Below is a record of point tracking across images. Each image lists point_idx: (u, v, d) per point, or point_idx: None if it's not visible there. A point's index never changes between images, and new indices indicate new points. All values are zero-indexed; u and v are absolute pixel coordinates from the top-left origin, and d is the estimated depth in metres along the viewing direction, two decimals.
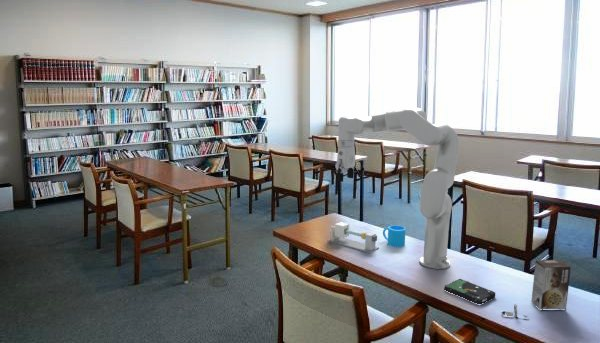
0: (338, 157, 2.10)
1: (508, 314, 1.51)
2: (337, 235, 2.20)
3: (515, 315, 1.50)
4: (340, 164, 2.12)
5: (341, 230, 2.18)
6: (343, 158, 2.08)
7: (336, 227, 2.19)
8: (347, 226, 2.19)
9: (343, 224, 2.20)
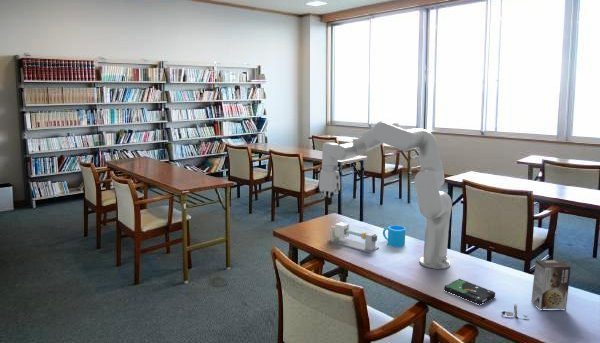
0: (335, 182, 2.18)
1: (508, 314, 1.51)
2: (337, 235, 2.20)
3: (515, 315, 1.50)
4: None
5: (341, 230, 2.18)
6: (339, 181, 2.20)
7: (336, 227, 2.19)
8: (347, 226, 2.19)
9: (343, 224, 2.20)
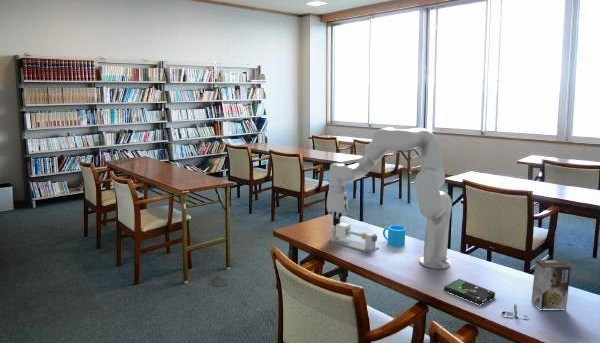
0: (343, 203, 2.16)
1: (508, 314, 1.51)
2: (338, 235, 2.19)
3: (515, 315, 1.50)
4: None
5: (342, 230, 2.17)
6: (347, 202, 2.18)
7: (337, 227, 2.19)
8: (348, 226, 2.19)
9: (344, 224, 2.19)
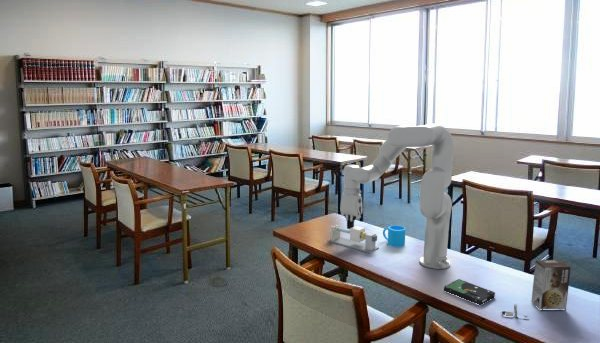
0: (358, 205, 2.11)
1: (508, 314, 1.51)
2: (353, 239, 2.14)
3: (515, 315, 1.50)
4: None
5: (357, 234, 2.12)
6: (361, 205, 2.13)
7: (352, 231, 2.14)
8: (363, 230, 2.14)
9: (359, 228, 2.14)
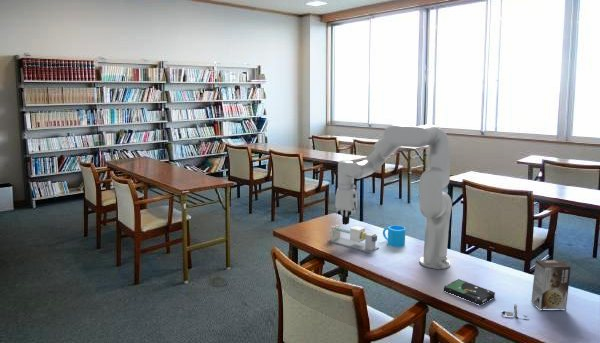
0: (353, 200, 2.13)
1: (508, 314, 1.51)
2: (353, 239, 2.14)
3: (515, 315, 1.50)
4: None
5: (357, 234, 2.12)
6: (356, 200, 2.15)
7: (352, 231, 2.14)
8: (363, 230, 2.14)
9: (359, 228, 2.14)
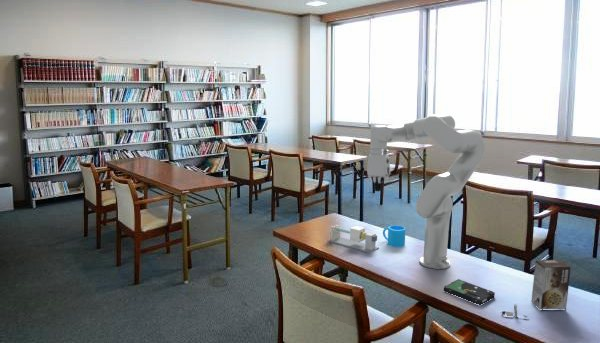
0: (386, 166, 2.08)
1: (508, 314, 1.51)
2: (353, 239, 2.14)
3: (515, 315, 1.50)
4: None
5: (357, 234, 2.12)
6: (389, 165, 2.10)
7: (352, 231, 2.14)
8: (363, 230, 2.14)
9: (359, 228, 2.14)
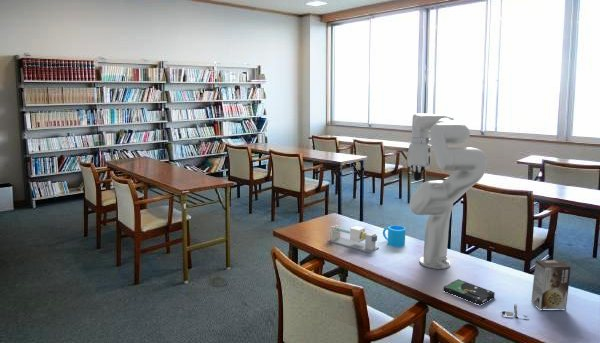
0: (427, 155, 2.05)
1: (508, 314, 1.51)
2: (353, 239, 2.14)
3: (515, 315, 1.50)
4: None
5: (357, 234, 2.12)
6: (430, 155, 2.07)
7: (352, 231, 2.14)
8: (363, 230, 2.14)
9: (359, 228, 2.14)
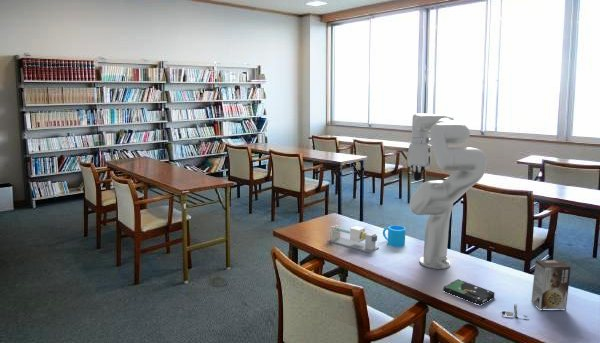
0: (427, 155, 2.05)
1: (508, 314, 1.51)
2: (353, 239, 2.14)
3: (515, 315, 1.50)
4: None
5: (357, 234, 2.12)
6: (430, 155, 2.07)
7: (352, 231, 2.14)
8: (363, 230, 2.14)
9: (359, 228, 2.14)
